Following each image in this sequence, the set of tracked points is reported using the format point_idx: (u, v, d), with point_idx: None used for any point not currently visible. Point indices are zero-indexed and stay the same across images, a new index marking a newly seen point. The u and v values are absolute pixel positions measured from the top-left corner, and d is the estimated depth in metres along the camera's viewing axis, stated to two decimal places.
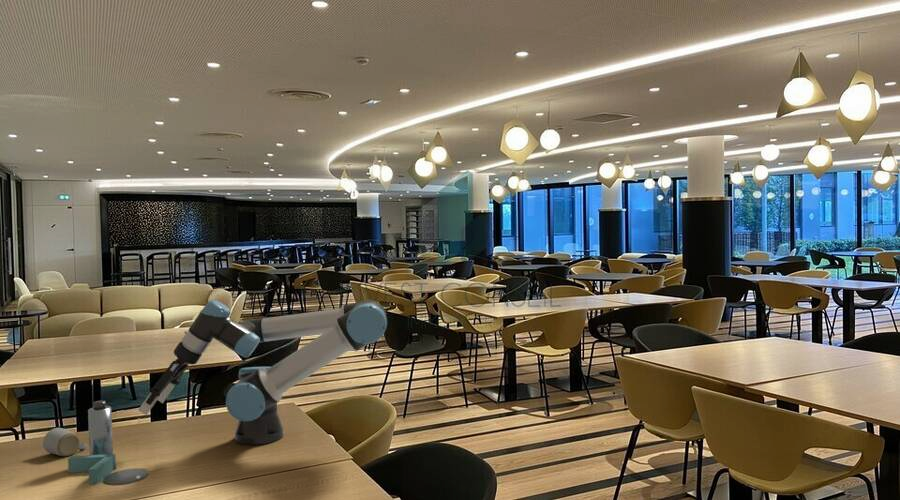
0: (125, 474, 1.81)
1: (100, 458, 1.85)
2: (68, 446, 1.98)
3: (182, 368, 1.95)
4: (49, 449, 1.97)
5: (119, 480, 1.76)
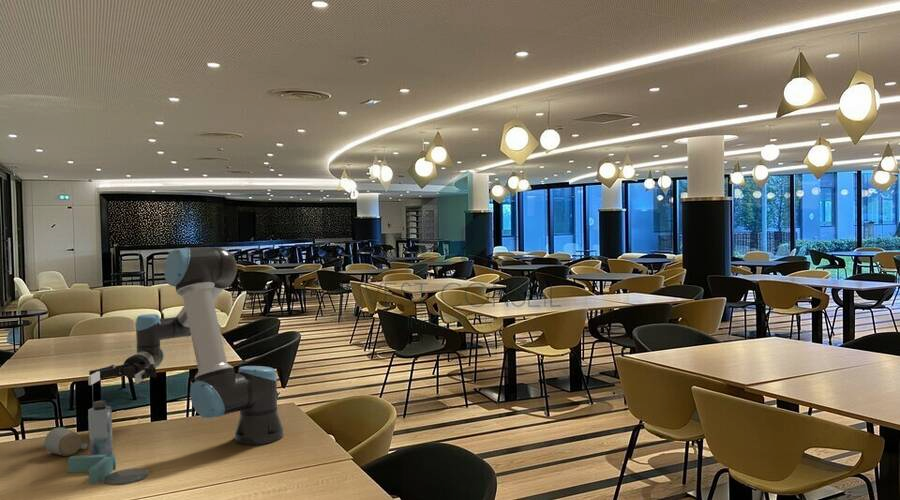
0: (125, 474, 1.81)
1: (100, 458, 1.85)
2: (70, 445, 1.98)
3: None
4: (50, 449, 1.98)
5: (119, 480, 1.76)
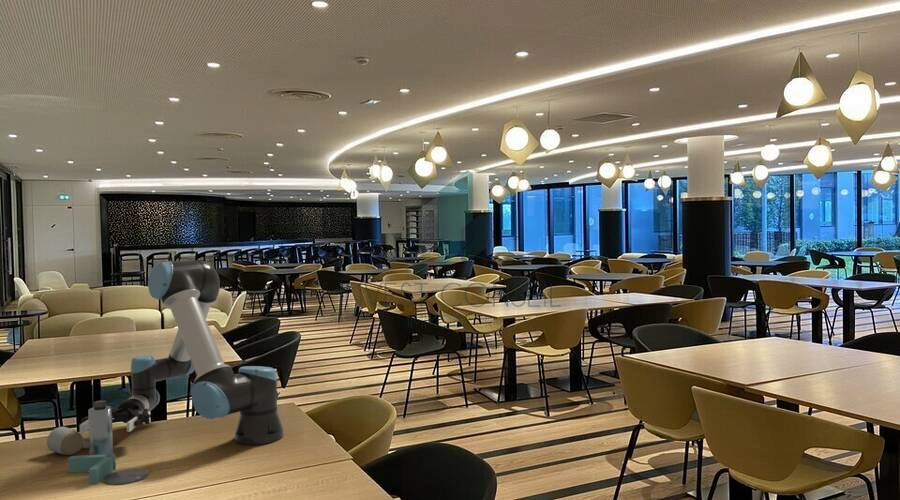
0: (125, 474, 1.81)
1: (100, 458, 1.85)
2: (72, 445, 1.99)
3: None
4: (53, 448, 1.98)
5: (119, 480, 1.76)
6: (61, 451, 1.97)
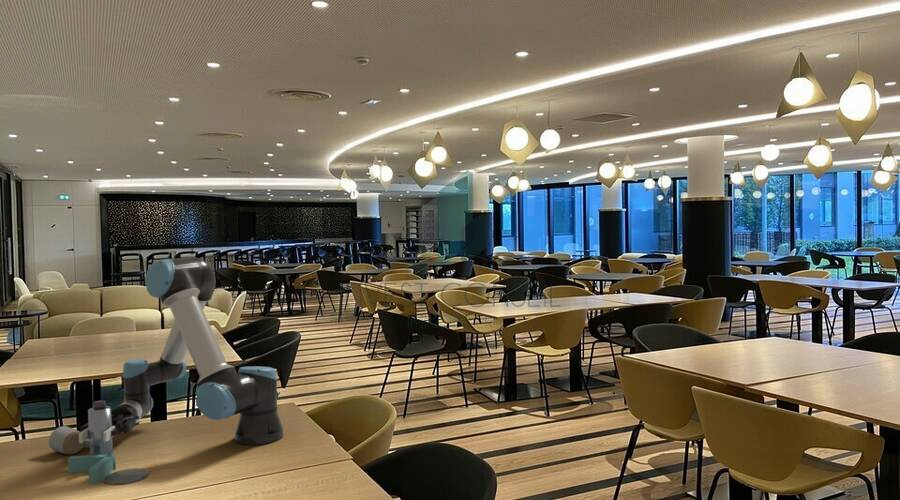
0: (125, 474, 1.81)
1: (100, 458, 1.85)
2: (74, 444, 1.99)
3: None
4: (55, 447, 1.99)
5: (119, 480, 1.76)
6: (63, 450, 1.97)
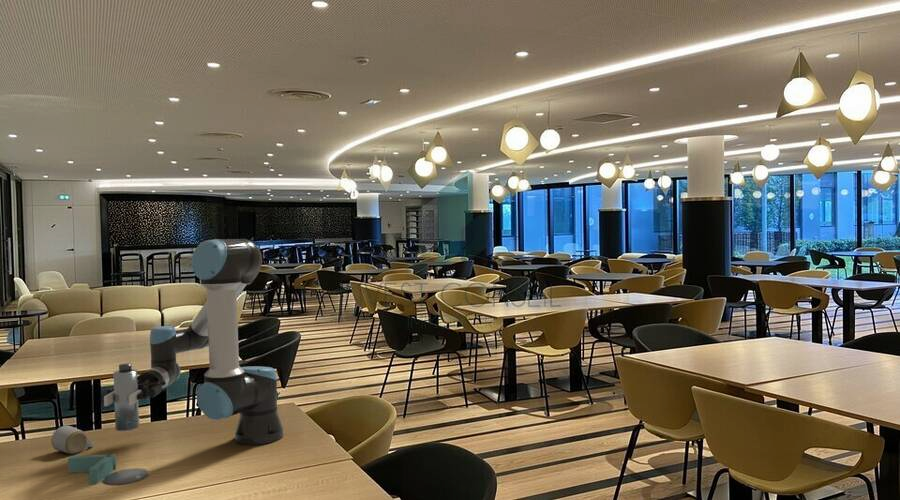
0: (125, 474, 1.81)
1: (100, 458, 1.85)
2: (76, 444, 2.00)
3: None
4: (57, 447, 2.00)
5: (119, 480, 1.76)
6: (65, 450, 1.98)
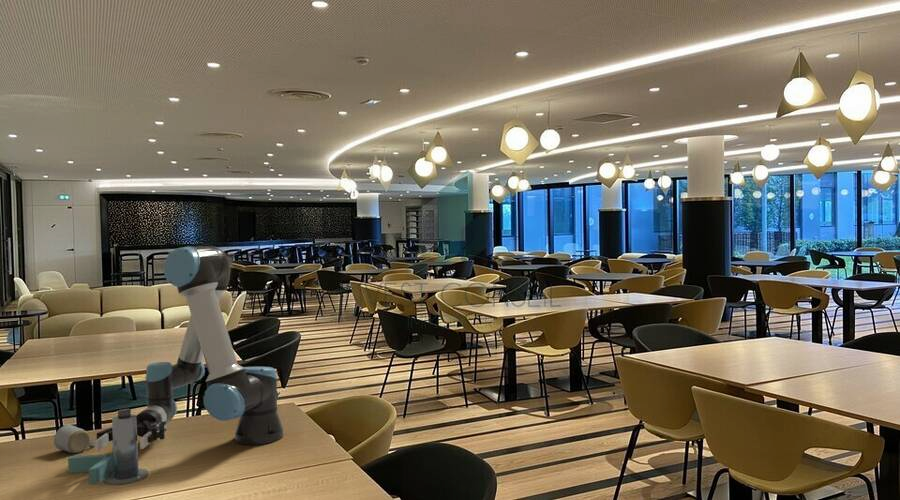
0: None
1: (100, 458, 1.85)
2: (79, 443, 2.01)
3: None
4: (60, 446, 2.00)
5: (119, 480, 1.76)
6: (68, 449, 1.99)
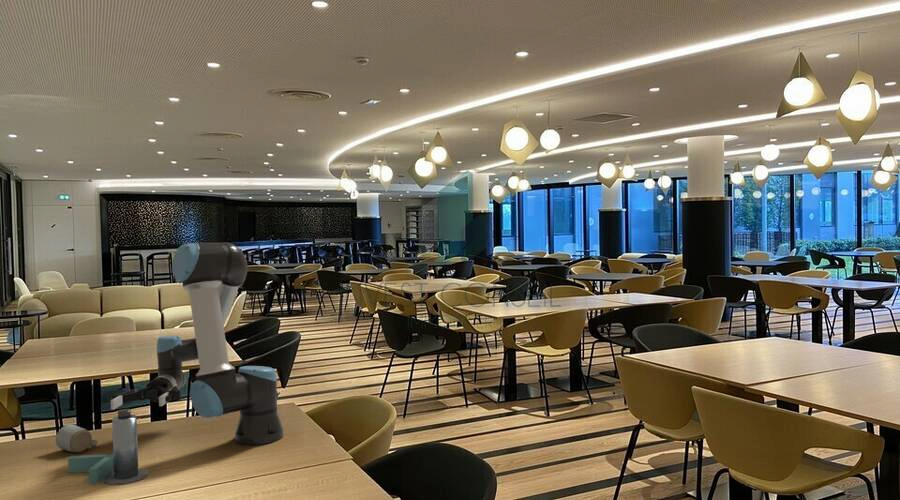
0: None
1: (100, 458, 1.85)
2: (81, 442, 2.01)
3: None
4: (62, 445, 2.01)
5: (119, 480, 1.76)
6: (70, 448, 1.99)
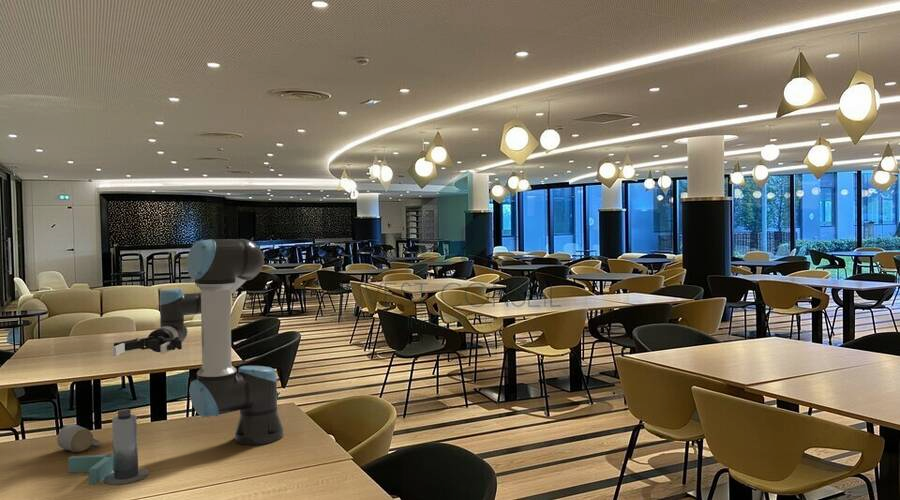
0: None
1: (100, 458, 1.85)
2: (82, 442, 2.01)
3: None
4: (63, 445, 2.01)
5: (119, 480, 1.76)
6: (71, 448, 1.99)
